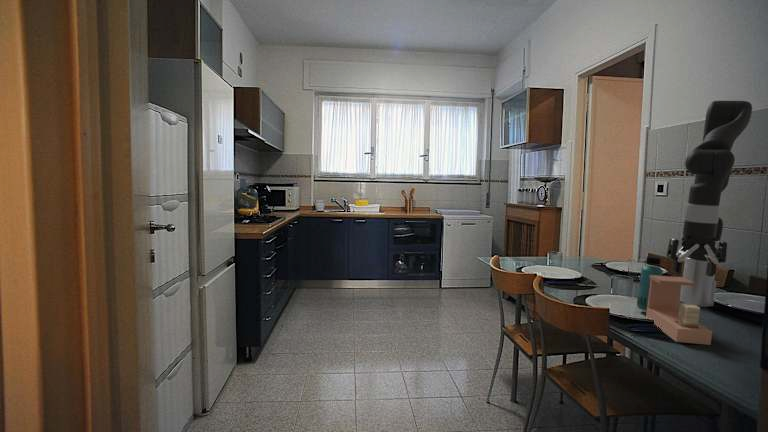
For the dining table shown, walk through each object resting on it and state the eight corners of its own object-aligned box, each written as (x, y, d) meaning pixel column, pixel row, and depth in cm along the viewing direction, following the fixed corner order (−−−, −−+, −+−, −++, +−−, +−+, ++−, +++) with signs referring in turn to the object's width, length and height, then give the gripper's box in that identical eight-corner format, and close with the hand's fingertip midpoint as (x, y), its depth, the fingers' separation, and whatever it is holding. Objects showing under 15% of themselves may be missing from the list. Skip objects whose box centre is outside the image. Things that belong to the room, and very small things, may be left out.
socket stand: (676, 321, 132) (682, 277, 130) (712, 345, 114) (719, 294, 112) (644, 318, 134) (649, 274, 132) (674, 341, 116) (681, 291, 114)
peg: (695, 340, 117) (700, 307, 116) (682, 339, 118) (687, 307, 116) (688, 335, 120) (692, 303, 119) (676, 334, 121) (680, 303, 120)
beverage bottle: (654, 310, 141) (661, 255, 138) (660, 317, 135) (668, 259, 132) (633, 308, 143) (640, 253, 140) (638, 314, 137) (645, 257, 134)
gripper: (681, 220, 112) (673, 276, 114) (738, 223, 110) (729, 280, 112) (666, 217, 119) (659, 269, 121) (719, 219, 117) (711, 273, 119)
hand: (693, 274), depth 117 cm, fingers open, 8 cm apart
